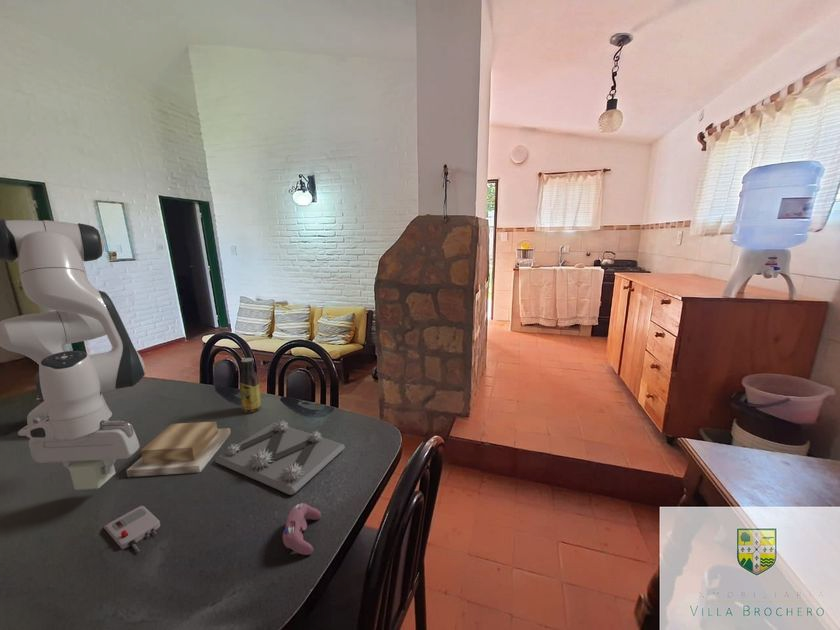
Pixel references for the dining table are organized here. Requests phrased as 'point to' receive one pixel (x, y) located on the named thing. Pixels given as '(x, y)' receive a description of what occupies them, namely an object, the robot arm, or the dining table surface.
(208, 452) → the stacking base
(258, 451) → the decorative plate
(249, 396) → the sauce bottle
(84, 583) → the dining table surface
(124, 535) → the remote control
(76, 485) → the sage block
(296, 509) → the video game controller
